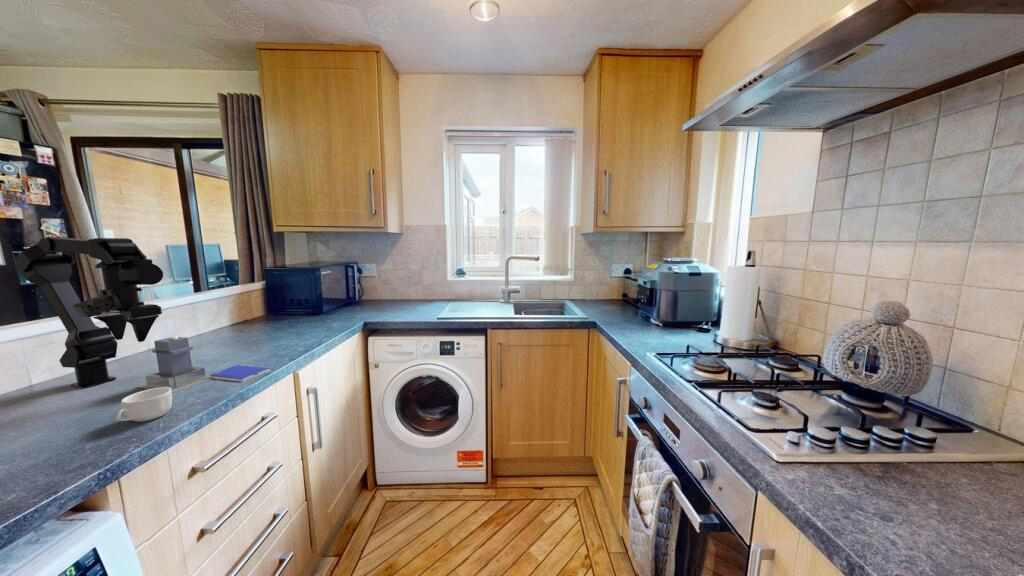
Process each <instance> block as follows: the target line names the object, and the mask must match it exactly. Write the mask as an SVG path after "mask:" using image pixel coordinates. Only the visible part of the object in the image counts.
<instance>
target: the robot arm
mask: <svg viewBox="0 0 1024 576" xmlns="http://www.w3.org/2000/svg"><path fill="white" fill-rule="evenodd" d="M50 253H51V254H50ZM52 253H53V254H52ZM54 253H55V254H54ZM59 253H62V254H59ZM74 254H82V255H83V254H84V255H88V256H89V257H90V258H92V259H95V260H99V262H98V263H96V264H95V266H94V268H95V269H100V270H101V274H102V280H103V286H104V289H100V291H99V293H98V294H99V295H98V296H95V297H91V298H88V299H85V300H83V301H81V300H80V297H79V295H77V292H76V291H75V289H74V287H73V286H72V284H71V283H70V277H71V275H72V272H73V269H72V267H71V266H72V265H73V264H74V262H75V261H76V258H75V256H74ZM14 268H15V270H16V271H17V272H19V274H21V275H20V276H22V277H23V279H25V281H28V282H29V283H31V284H34V285H35V286H37V287H40V288H41V290H42V292H43V293H44V295H45V297H46V298H47V299H48V300H47V301H49V303H50V305H51V306H52V309H54V311H55V313H56V315H57V316H58V318H59V319H60V321H61V323H62V325H63V327H64V329H66V330H65V331H67V336H66V339H65V342H64V346H65V348H66V349H65V351H64V353H63V354H62V355H61V356H60V357H59V363H60V365H61V366H62V368H74V374H75V379H76V382H72V383H71V384H70V387H75V388H82V389H87V388H90V387H92V386H97V385H100V384H103V383H106V382H111V381H114V380H116V379H117V377H114V376H110V375H109V370H108V363H107V360H111V359H115V358H116V357H117V351H118V341H119V340H123V338H124V335H125V332H126V328H127V324H128V323H129V324H130V325H131V327H132V329H133V332H134V335H135V338H136V340H137V342H138V343H143V342H145V340H146V339H147V336H148V334H149V333H150V330H151V328H152V326H153V325H154V323H155V322H156V320H157V318H160V315H162V314H163V311H162V306H160V305H158V304H153V303H150V304H149V303H145V302H144V301H140V296H139V292H143V289H142V287H139V286H147V285H148V286H152V285H153V286H154V285H158V283H160V282H161V281H163V277H164V272H163V270H162V269H161V267H159V265H157V264H156V263H155V264H154V263H153V260H152V259H151V258H150V259H149V258H147V255H146V254H144V253H143V251H142V250H141V249H140V248H139V247H138V246H137V244H136V243H135V242H133V240H132V239H131V238H127V237H125V238H124V237H123V238H119V237H116V238H115V237H111V238H110V237H96V238H88V239H84V238H70V237H67V236H65V237H64V236H45V237H41V238H40V239H39V241H38V242H37V243H36V244H34V245H31V246H29V247H28V248H26V249H24V250H22V251H21V252H20V253H19V255H18V256H17V257H16V259H15V260H14ZM92 318H93V319H96V320H98V321H100V322H103V323H104V324H105V325H106V326H104V327H101V326H98V325H96V324H95V323H94V321H93V319H92Z"/></svg>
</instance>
